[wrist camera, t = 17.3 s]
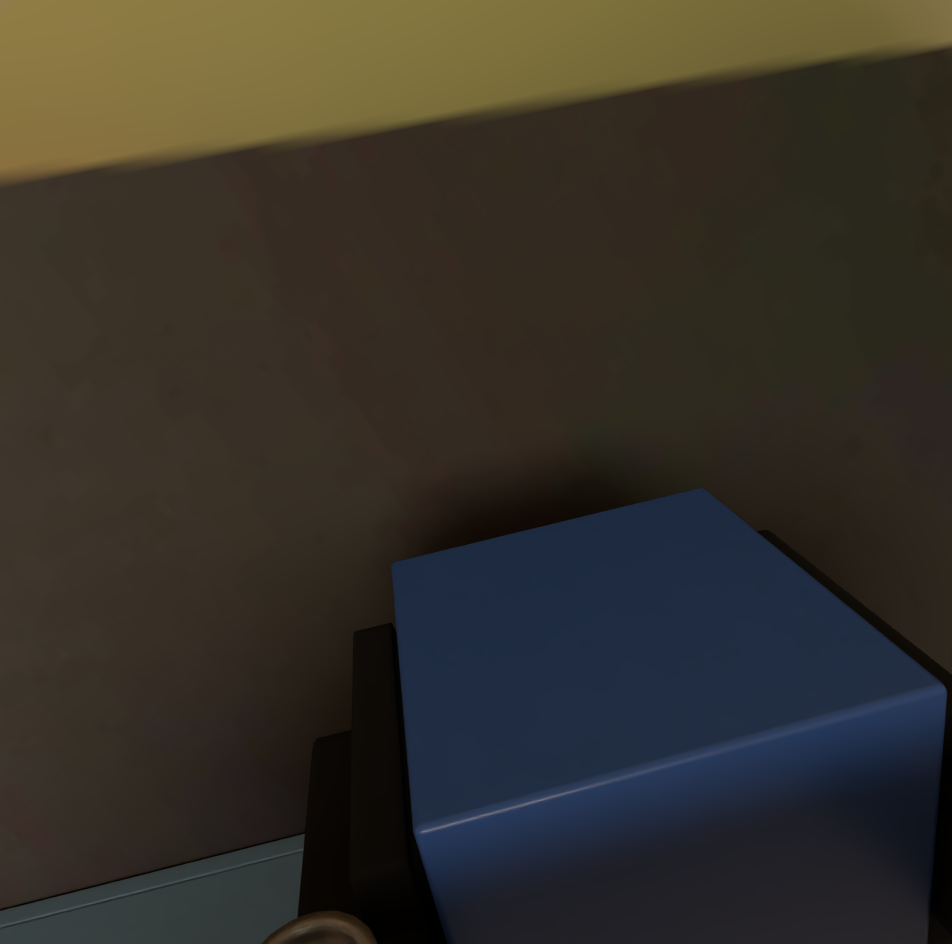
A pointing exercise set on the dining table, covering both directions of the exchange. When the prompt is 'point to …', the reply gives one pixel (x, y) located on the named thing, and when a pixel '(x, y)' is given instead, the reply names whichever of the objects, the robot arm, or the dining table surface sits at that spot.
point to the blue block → (661, 740)
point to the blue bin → (174, 903)
